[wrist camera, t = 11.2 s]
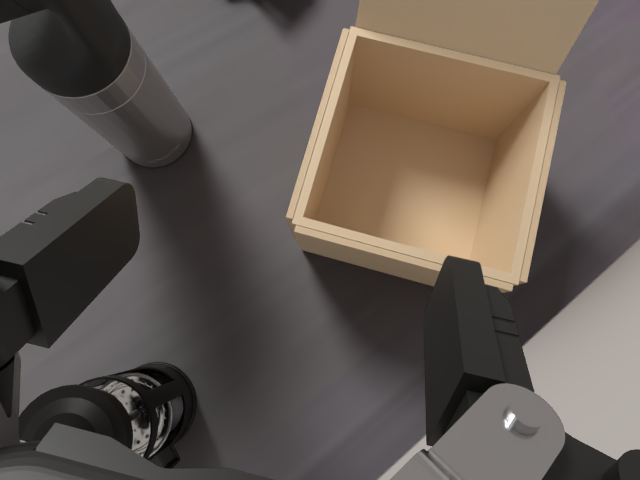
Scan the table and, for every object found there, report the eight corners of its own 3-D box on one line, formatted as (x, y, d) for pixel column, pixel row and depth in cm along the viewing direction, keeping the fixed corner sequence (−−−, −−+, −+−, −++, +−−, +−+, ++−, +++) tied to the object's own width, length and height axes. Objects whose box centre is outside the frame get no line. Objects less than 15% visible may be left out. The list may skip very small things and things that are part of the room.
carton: (471, 301, 50) (524, 294, 37) (294, 252, 52) (282, 228, 38) (506, 139, 54) (567, 77, 40) (340, 98, 55) (344, 24, 42)
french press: (96, 387, 50) (-99, 442, 27) (167, 340, 50) (36, 356, 28) (146, 481, 48) (-19, 626, 25) (220, 431, 48) (125, 527, 26)
